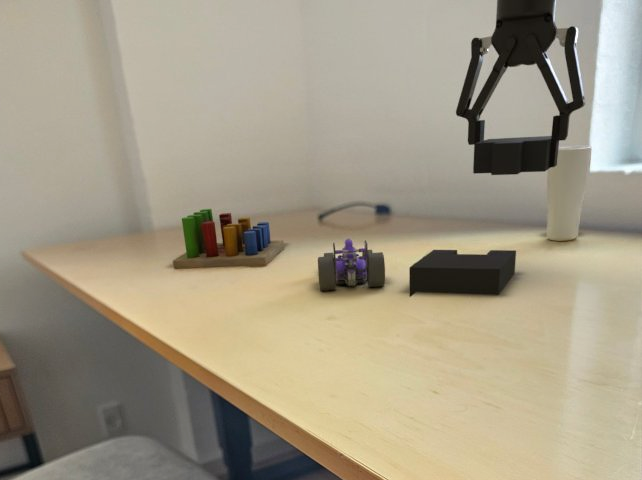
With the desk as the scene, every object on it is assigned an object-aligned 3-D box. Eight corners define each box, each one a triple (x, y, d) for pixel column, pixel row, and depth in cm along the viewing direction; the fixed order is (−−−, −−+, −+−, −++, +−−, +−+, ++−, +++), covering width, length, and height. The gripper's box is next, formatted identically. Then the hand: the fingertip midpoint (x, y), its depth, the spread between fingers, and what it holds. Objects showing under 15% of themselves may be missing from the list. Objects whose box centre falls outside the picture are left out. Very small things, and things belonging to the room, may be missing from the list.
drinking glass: (555, 234, 122) (563, 146, 116) (589, 237, 118) (600, 145, 111) (534, 240, 119) (541, 149, 112) (568, 243, 114) (578, 149, 107)
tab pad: (468, 175, 93) (469, 144, 91) (487, 167, 102) (488, 139, 100) (541, 173, 89) (544, 141, 87) (554, 165, 98) (557, 135, 96)
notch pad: (409, 296, 90) (409, 267, 89) (433, 276, 100) (433, 249, 98) (498, 300, 85) (500, 269, 84) (514, 278, 95) (516, 250, 93)
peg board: (266, 266, 116) (261, 215, 112) (173, 270, 119) (164, 221, 115) (284, 247, 131) (280, 202, 127) (201, 251, 134) (195, 207, 130)
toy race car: (376, 267, 108) (375, 226, 105) (385, 289, 95) (384, 243, 92) (319, 272, 109) (316, 231, 106) (319, 294, 95) (316, 248, 92)
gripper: (435, -7, 88) (432, 172, 98) (619, -34, 79) (594, 167, 89) (450, -1, 94) (445, 167, 104) (623, -26, 84) (599, 162, 95)
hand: (514, 167), depth 96 cm, fingers closed on tab pad, 10 cm apart
